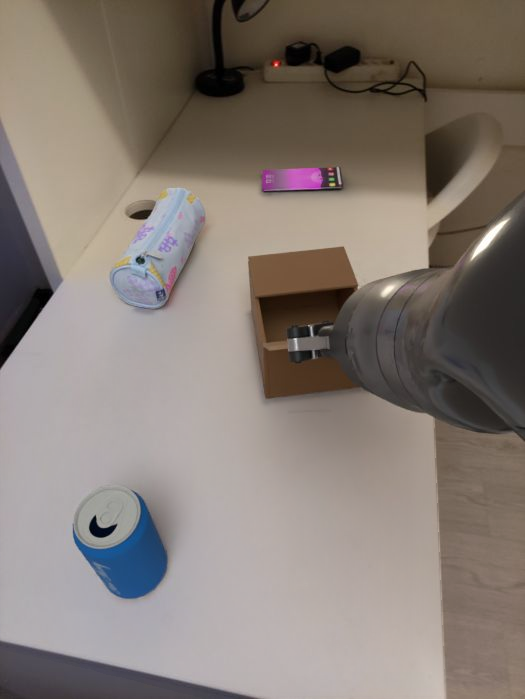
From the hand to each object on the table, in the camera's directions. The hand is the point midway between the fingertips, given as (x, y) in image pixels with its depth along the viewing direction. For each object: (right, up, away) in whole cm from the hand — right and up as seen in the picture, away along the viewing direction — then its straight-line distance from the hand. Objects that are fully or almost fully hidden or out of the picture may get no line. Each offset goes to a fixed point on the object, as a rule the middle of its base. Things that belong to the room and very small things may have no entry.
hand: (345, 333), depth 47 cm
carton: (-1, -1, +27) cm, 27 cm away
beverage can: (-20, -24, +7) cm, 32 cm away
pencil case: (-23, +11, +39) cm, 46 cm away
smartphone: (0, +30, +55) cm, 63 cm away
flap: (-1, 0, +10) cm, 10 cm away
